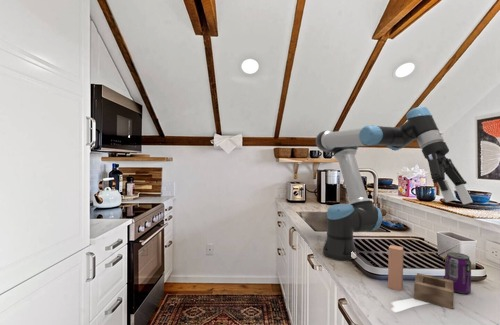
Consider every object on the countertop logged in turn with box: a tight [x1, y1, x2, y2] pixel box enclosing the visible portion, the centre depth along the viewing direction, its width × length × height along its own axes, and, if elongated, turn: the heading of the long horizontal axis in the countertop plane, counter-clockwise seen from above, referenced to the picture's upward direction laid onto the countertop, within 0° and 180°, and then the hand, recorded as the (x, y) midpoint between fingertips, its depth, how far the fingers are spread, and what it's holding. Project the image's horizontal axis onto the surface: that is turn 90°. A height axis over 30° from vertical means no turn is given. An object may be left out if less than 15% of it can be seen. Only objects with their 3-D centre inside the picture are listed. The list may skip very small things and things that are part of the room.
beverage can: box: [444, 251, 472, 294], centre depth 91 cm, size 7×7×12 cm
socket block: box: [413, 272, 455, 310], centre depth 86 cm, size 10×10×5 cm
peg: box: [387, 244, 404, 292], centre depth 92 cm, size 4×4×14 cm
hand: (459, 202), depth 86 cm, fingers open, 13 cm apart
